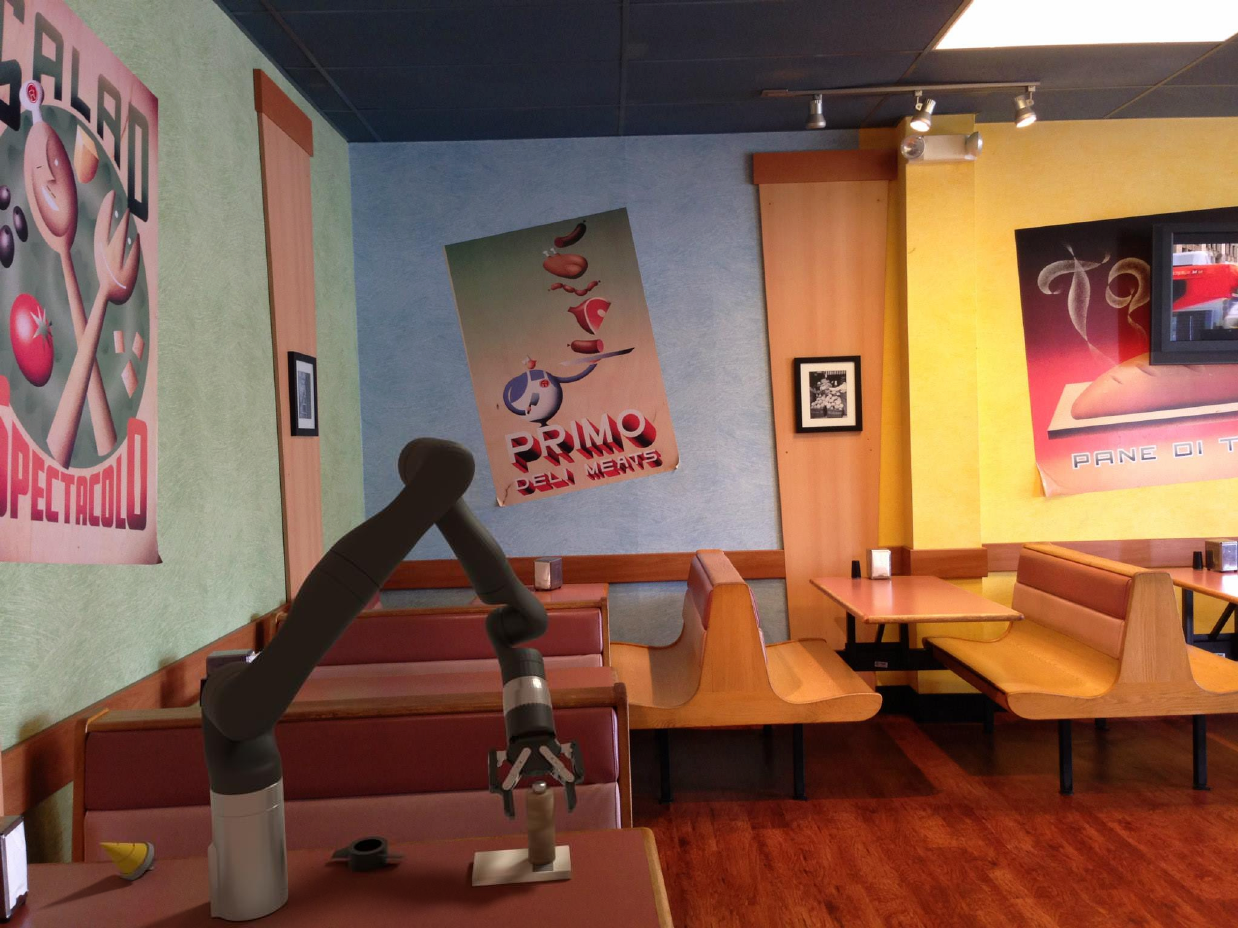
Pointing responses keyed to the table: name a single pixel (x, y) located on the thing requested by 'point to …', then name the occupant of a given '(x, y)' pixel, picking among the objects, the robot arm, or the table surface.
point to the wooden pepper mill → (540, 824)
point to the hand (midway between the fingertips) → (541, 814)
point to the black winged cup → (366, 854)
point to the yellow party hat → (131, 857)
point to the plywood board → (518, 867)
